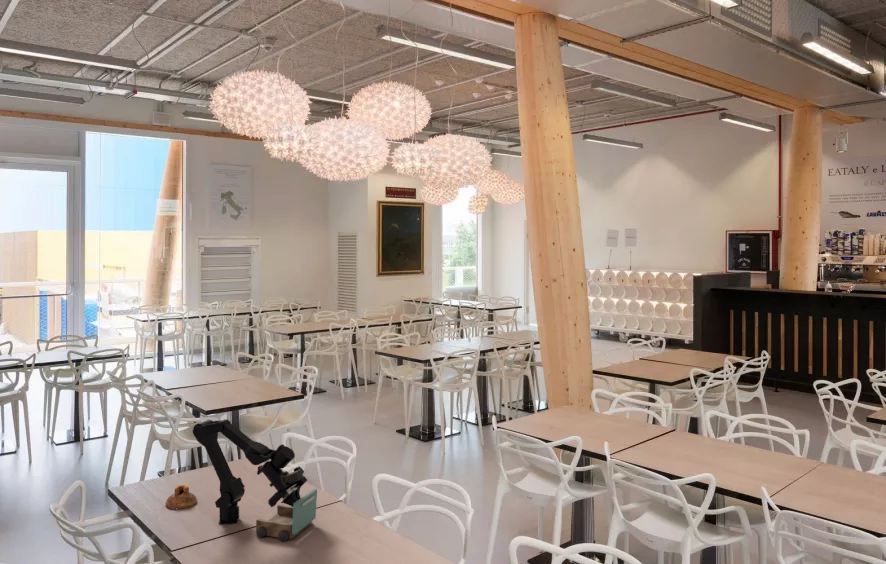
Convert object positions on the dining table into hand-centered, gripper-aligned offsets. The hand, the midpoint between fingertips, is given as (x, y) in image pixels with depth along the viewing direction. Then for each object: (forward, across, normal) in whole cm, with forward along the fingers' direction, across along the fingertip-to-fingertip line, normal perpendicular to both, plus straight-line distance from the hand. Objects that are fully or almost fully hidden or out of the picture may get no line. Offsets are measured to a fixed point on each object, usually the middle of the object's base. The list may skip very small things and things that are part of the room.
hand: (302, 509), depth 237 cm
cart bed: (+1, 0, +11) cm, 11 cm away
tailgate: (+5, 0, +4) cm, 6 cm away
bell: (-35, +7, +48) cm, 60 cm away
